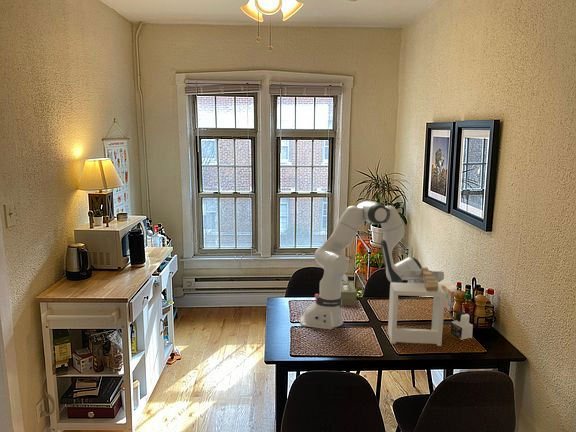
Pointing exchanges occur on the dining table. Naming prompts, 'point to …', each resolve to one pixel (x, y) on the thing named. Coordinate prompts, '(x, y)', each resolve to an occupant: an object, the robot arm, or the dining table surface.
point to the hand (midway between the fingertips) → (425, 272)
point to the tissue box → (348, 292)
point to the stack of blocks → (448, 295)
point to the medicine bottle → (461, 326)
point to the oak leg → (429, 280)
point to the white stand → (416, 334)
